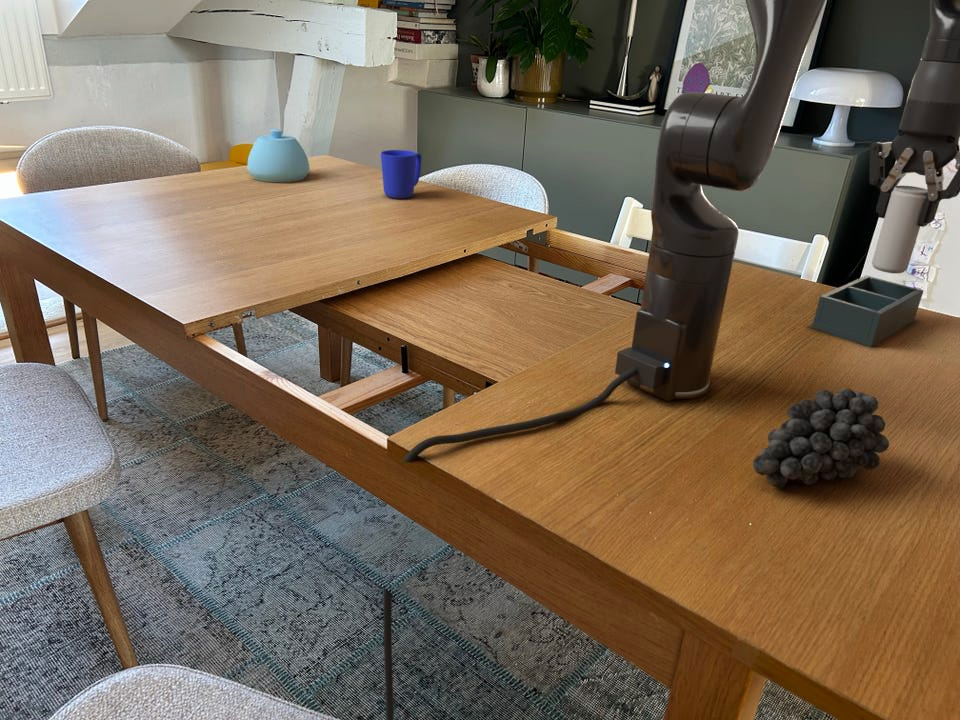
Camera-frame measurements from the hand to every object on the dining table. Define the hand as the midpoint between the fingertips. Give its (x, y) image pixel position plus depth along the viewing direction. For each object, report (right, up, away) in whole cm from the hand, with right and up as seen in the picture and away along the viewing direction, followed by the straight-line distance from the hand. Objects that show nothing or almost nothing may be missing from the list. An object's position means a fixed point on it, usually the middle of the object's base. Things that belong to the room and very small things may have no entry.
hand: (902, 220), depth 107 cm
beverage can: (0, -7, +3) cm, 8 cm away
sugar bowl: (-112, +26, +79) cm, 139 cm away
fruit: (-29, -32, -34) cm, 55 cm away
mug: (-80, +19, +67) cm, 106 cm away
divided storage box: (-3, -15, +4) cm, 16 cm away
